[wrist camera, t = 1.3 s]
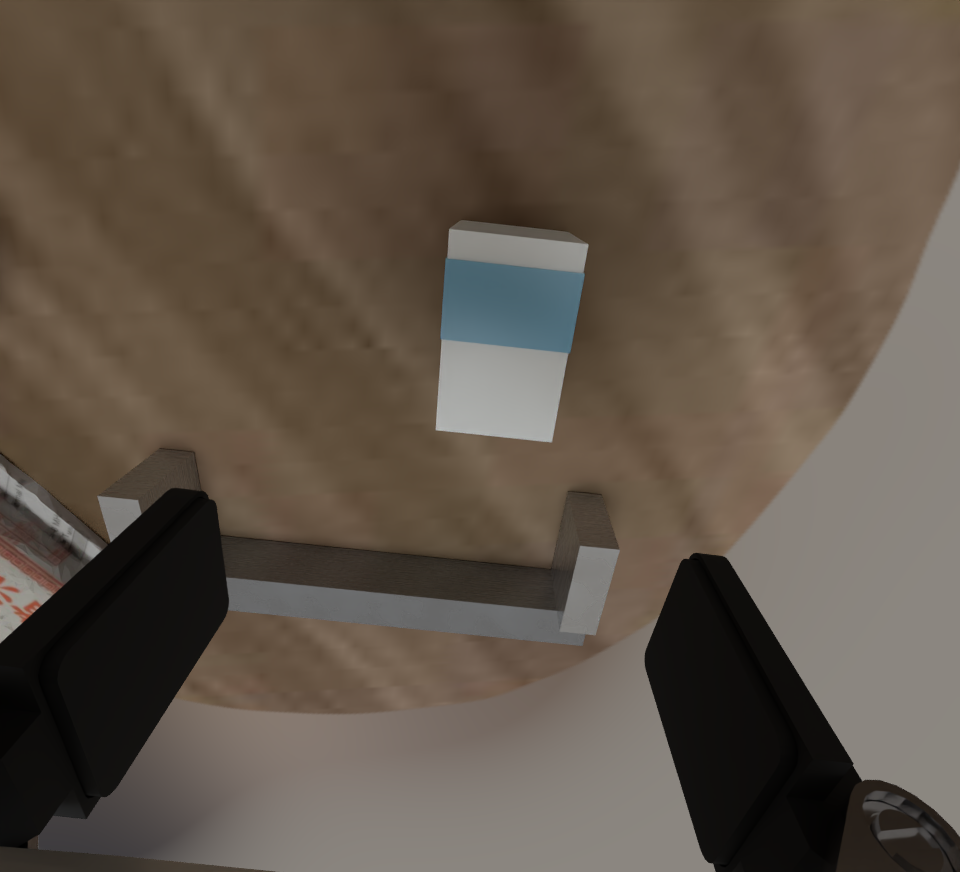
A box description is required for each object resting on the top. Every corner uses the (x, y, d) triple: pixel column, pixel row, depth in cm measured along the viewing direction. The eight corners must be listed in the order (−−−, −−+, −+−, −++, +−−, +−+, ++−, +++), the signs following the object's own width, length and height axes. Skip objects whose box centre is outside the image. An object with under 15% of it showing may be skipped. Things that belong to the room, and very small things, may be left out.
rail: (159, 448, 29) (97, 496, 24) (601, 494, 29) (619, 549, 25) (183, 562, 33) (134, 621, 28) (574, 602, 33) (586, 667, 29)
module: (459, 219, 23) (447, 228, 18) (568, 231, 23) (590, 245, 18) (447, 381, 27) (434, 431, 21) (542, 391, 27) (553, 443, 21)
